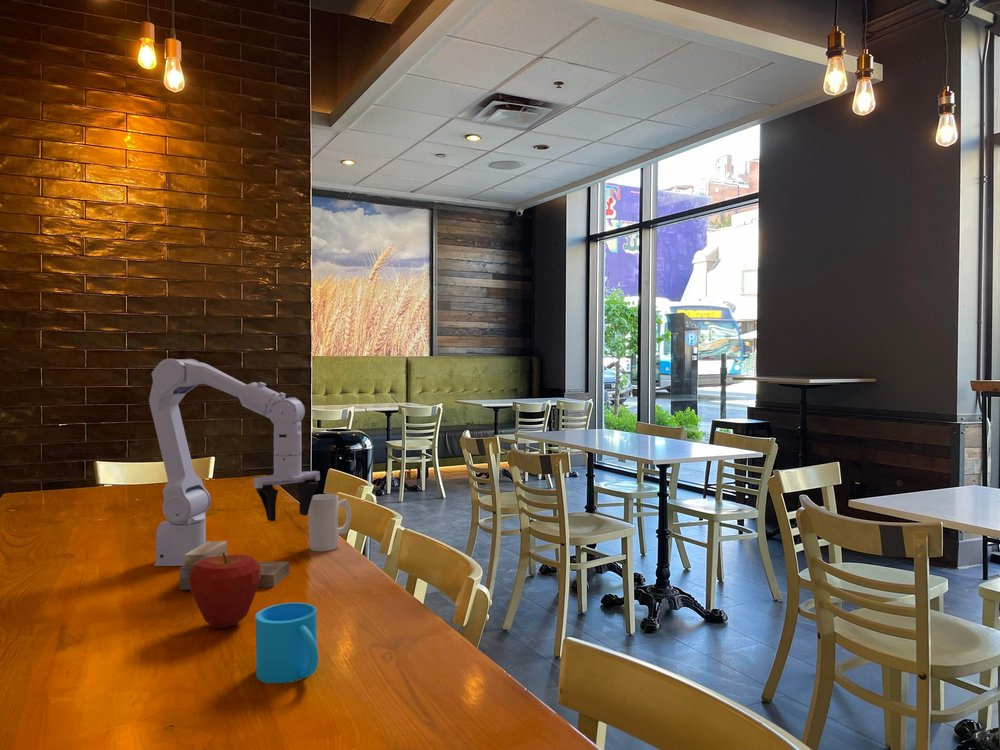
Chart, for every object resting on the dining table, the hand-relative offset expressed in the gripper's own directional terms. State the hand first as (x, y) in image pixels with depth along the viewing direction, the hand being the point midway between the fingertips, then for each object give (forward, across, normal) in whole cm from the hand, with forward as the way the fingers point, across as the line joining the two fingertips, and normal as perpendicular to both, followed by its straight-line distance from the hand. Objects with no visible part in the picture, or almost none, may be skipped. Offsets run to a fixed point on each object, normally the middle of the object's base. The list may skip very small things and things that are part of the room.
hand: (287, 517), depth 151 cm
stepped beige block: (+10, -18, 0) cm, 20 cm away
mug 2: (+10, +13, +4) cm, 17 cm away
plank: (+10, -13, -4) cm, 17 cm away
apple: (+10, -25, -26) cm, 37 cm away
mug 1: (+10, -27, -50) cm, 58 cm away
